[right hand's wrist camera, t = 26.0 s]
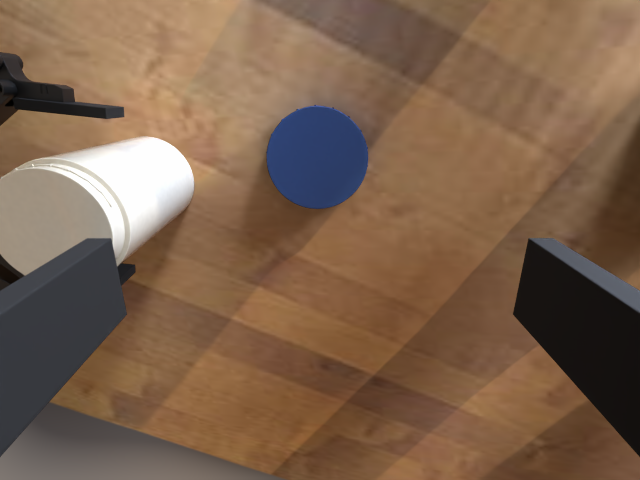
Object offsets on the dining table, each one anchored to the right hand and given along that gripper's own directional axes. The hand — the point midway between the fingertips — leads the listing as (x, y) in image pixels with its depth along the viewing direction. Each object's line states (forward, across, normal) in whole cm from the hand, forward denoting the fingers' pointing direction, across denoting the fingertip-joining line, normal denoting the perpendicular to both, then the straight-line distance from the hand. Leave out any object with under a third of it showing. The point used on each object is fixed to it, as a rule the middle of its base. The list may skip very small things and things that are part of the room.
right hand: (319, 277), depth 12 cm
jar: (+26, +16, +2) cm, 31 cm away
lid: (+24, 0, 0) cm, 24 cm away
